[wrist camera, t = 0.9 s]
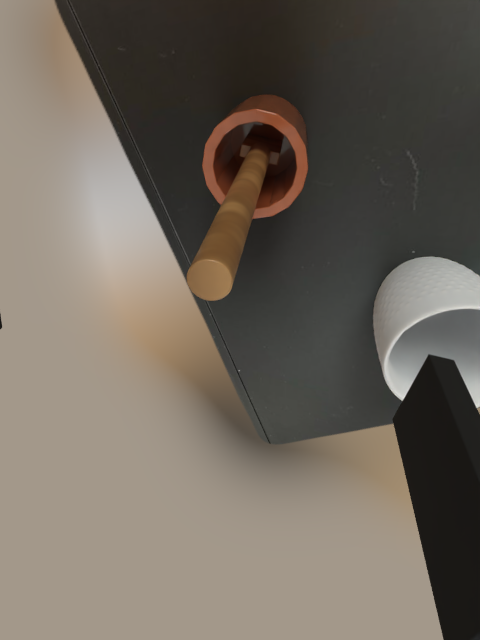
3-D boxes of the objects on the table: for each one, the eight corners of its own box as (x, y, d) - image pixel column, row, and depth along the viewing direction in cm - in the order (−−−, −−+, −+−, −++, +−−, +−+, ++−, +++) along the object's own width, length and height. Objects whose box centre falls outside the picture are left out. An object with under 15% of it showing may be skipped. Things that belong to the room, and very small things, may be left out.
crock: (232, 85, 38) (211, 98, 30) (317, 105, 38) (321, 124, 30) (217, 172, 42) (196, 205, 34) (294, 191, 42) (291, 228, 34)
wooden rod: (245, 148, 40) (166, 290, 17) (249, 127, 39) (171, 250, 16) (279, 156, 40) (245, 310, 17) (284, 136, 39) (254, 270, 16)
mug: (520, 217, 41) (598, 282, 30) (516, 315, 46) (581, 400, 35) (357, 250, 45) (373, 319, 34) (371, 337, 50) (389, 421, 39)
